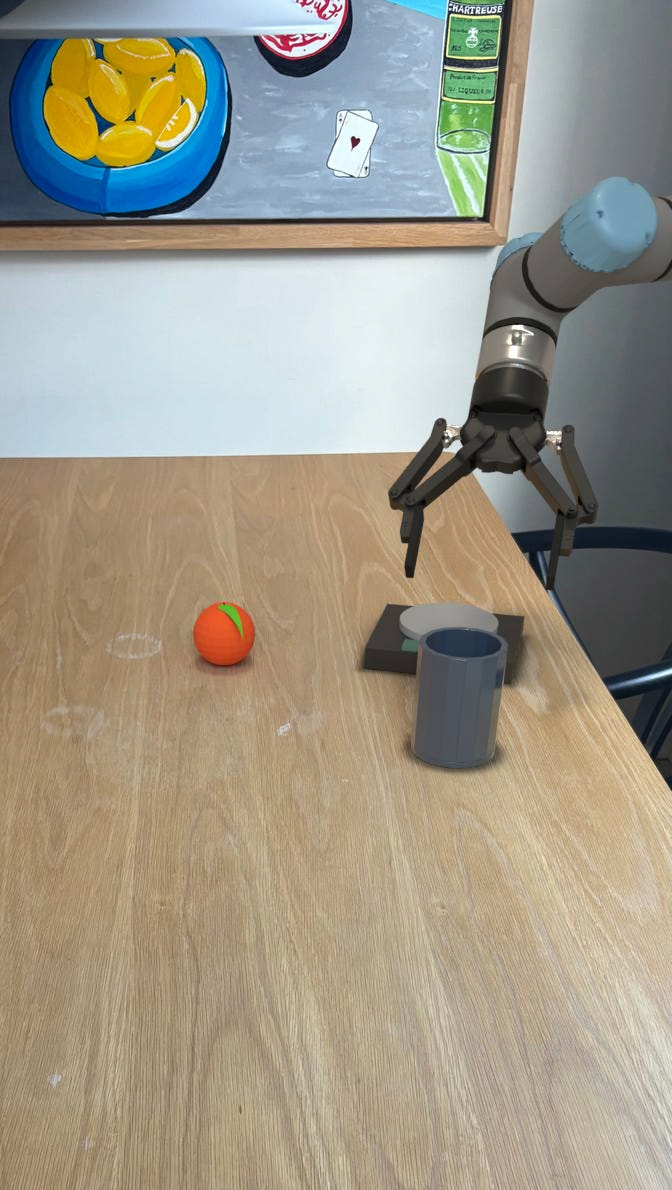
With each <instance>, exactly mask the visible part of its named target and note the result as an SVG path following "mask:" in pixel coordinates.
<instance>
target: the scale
mask: <svg viewBox="0 0 672 1190" xmlns="http://www.w3.org/2000/svg"><path fill="white" fill-rule="evenodd" d="M524 624H525V615H516V614H505V613H493V612H490V611H488V610H486V609H483V608H482V607H481V608H480V607H477V606H474V605H469V604H466V603H465V604H464V603H457V602H431V603H430V602H429V603H423V604H419V605H407V604H397V603H396V604H395V603H394V604H393V603H387V604H386V605H385V607H384V609H383V611H382V613H381V615H380V617H379V619H378V621H377V623H376V625H375V626H374V629H373V630H372V633H371V635H370V637H369V639H368V641H367V642H366V645H365V647H364V658H363V669H369V670H378V671H386V672H387V671H388V672H397V673H406V674H415V675H416V670H417V658H418V646H419V641H420V638H421V636H422V635H424V634H425V633H427V632H429V631H431V630H436V629H440V628H446V627H468V628H478V629H481V630H485V631H489V632H493V633H495V634H497V635H499V636H501V637H502V638H504V640H505V641H506V642H507V643H508V650H507V658H506V666H505V674H504V682H503V684H512V680H513V676H514V671H515V668H516V663H517V659H518V655H519V650H520V646H521V642H522V638H523V633H524V626H525V625H524Z"/></svg>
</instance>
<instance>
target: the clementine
mask: <svg viewBox="0 0 672 1190" xmlns="http://www.w3.org/2000/svg"><path fill="white" fill-rule="evenodd" d="M192 636H193V643H194V646H195V648H196V650H197V652H198V653H199V655H201V657H202V658H203V659H204V660H205V661H207V662H209V663H211V664H212V665H217V666H231V665H235V664H237V663H239V662H241V661H242V660H244V659H245V658H246V657H247V656H248V655H249V654H250V652H251V650H252V648H253V646H254V643H255V639H256V629H255V625H254V622H253V619H252V617H251V615H250V614H249V613H248V612H247V611H246V609H244V608H242V607H241V606H239V605H238V604H235V603H233V602H229V601H228V602H227V601H220V602H216V603H213V604H210V605H209V606H208V607H206V608H205V609H203V610H202V611H201V612H200V614H199V615H198V616H197V618H196V620H195V623H194V626H193V630H192Z"/></svg>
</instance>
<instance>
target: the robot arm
mask: <svg viewBox="0 0 672 1190" xmlns="http://www.w3.org/2000/svg"><path fill="white" fill-rule="evenodd" d="M665 281H666V282H668V281H672V195H665V196H652V197H651V195H650V194H649V193H648V191H647V190H646V189H645V188H644V187H643V186H642V185H640V184H639V183H637V182H634V183H632V182H631V181H630V180H629V179H628V178H627V177H624V176H611V177H608V178H605V179H603V180H601V181H599V182H598V183H597V184H595V185H594V186H593V187H592V188H591V189H589V190H588V191H587V192H585V193H583V194H582V195H581V196H580V197H579V198H577V199H576V200H574V202H573V203H572V204H571V205H569V207H568V208H567V209H566V211H565V212H564V213H563V214H562V215H561V216H559V218H558V219H557V220H556V221H554V223H553V224H552V225H551V226H549V227H548V229H547V230H545V232H537V231H534V232H527V233H524V234H523V236H519V237H513V238H512V239H510V240H509V241H508V242H507V243H505V244H504V245H503V247H502V248H501V250H500V251H499V253H498V256H497V259H496V264H495V267H494V270H493V272H492V275H491V280H490V283H489V294H488V301H487V307H486V312H485V320H484V326H483V332H482V338H481V344H480V349H479V353H478V359H477V364H476V369H475V375H474V383H473V386H472V391H471V397H470V403H469V408H468V414H467V418H466V420H465V422H464V423H463V425H462V426H461V425H454V424H448V422H447V420H446V419H445V418H444V417H438V418H436V420H435V421H434V423H433V426H432V429H431V432H430V435H429V437H428V439H427V440H426V441H425V443H424V444H422V446H421V448H420V449H419V450H418V452H417V453H416V454H415V456H414V457H413V458H412V459H411V460H410V462H409V464H408V465H407V466H406V467H405V469H404V470H403V471H402V472H401V474H400V475H399V476H398V477H397V479H396V481H394V483H393V484H392V485H391V487H390V488H389V490H388V492H387V495H388V502H389V508H390V509H391V510H393V511H401V512H402V518H401V523H400V528H399V537H400V541H401V544H407V547H406V548H407V549H406V552H405V559H404V566H403V567H404V574H405V578H406V579H414V577H415V572H416V567H417V561H418V555H419V552H420V551H419V550H420V545H421V539H422V534H423V529H424V523H425V514H424V510H425V509H426V508H427V507H429V505H431V504H432V503H433V502H435V500H437V499H438V498H439V497H441V496H442V495H443V494H444V493H446V492H447V491H448V490H449V489H450V488H451V487H453V486H454V485H455V484H456V483H458V482H459V481H460V480H461V479H462V478H466V477H468V476H469V475H471V473H473V472H474V471H475V470H477V469H478V470H479V471H481V473H485V474H492V473H497V472H498V473H501V474H504V475H514V473H515V472H519V471H520V472H521V474H522V475H523V476H524V477H525V479H526V480H527V481H528V482H531V484H532V485H533V487H534V488H535V489H536V491H537V492H538V494H539V495H540V496H541V497H542V499H543V500H544V501H545V503H546V504H547V505H548V507H549V508H550V509H551V511H552V512H553V513H554V515H555V516H556V517H555V523H554V530H553V536H552V541H551V548H550V552H549V553H550V554H549V558H548V559H549V560H548V566H547V573H546V579H545V591H554V589H555V584H556V576H557V570H558V565H559V564H558V563H559V558H560V557H568V558H569V557H570V555H572V552H573V547H574V540H575V534H576V530H577V528H578V526H580V525H584V524H586V525H593V524H594V523H595V522H596V521H597V516H598V511H599V503H598V500H597V498H596V496H595V492H594V490H593V489H592V486H591V484H590V480H589V478H588V475H587V473H586V471H585V468H584V466H583V464H582V461H581V458H580V456H579V454H578V451H577V449H576V446H575V427H574V426H573V425H572V424H566V425H563V427H562V428H561V430H546V428H545V420H546V419H545V418H546V413H547V408H548V407H547V406H548V400H549V394H550V389H549V388H550V387H551V383H552V377H553V371H554V365H555V359H556V353H557V344H558V341H559V334H560V330H561V329H560V328H561V324H562V322H563V320H564V319H565V318H566V317H567V316H568V315H569V314H570V313H572V312H573V311H575V309H577V308H578V307H580V306H581V305H582V304H583V303H584V302H586V301H587V300H588V299H589V298H591V297H592V296H593V295H595V293H597V292H598V291H599V290H602V289H604V288H610V287H621V286H629V285H639V284H649V283H655V282H665ZM456 441H459V442H460V445H461V446H462V447H460V448H459V449H458V450H457V451H456V452H455V455H454V456H452V458H451V459H449V460H448V461H447V462H446V463H445V464H444V465H442V466H441V467H440V468H438V469H437V470H436V471H435V472H434V473H433V474H431V475H430V476H429V477H427V479H426V480H424V481H423V479H424V478H425V476H427V474H428V473H429V472H430V470H431V469H432V468H433V466H434V465H435V463H436V462H437V461H438V460H439V458H440V457H441V455H442V454H443V451H444V450H445V449H446V450H447V449H449V448H450V447H451V446H452V444H453V443H454V442H456ZM545 446H549V448H551V451H552V453H554V454H555V456H559V460H560V464H561V466H562V470H563V472H564V475H565V477H566V480H567V482H568V485H569V487H570V490H571V493H572V495H573V497H574V500H575V503H576V504H575V503H574V501H572V499H571V498H570V496H569V495H568V494H567V492H566V491H565V490H564V489H563V487H562V486H561V485H560V483H559V482H558V481H557V480H556V478H555V477H554V475H553V474H552V473H551V472H550V470H549V469H548V467H547V466H546V465H545V464H544V462H543V461H542V458H541V456H540V452H541V451H542V450H543V449H544V448H545ZM422 481H423V482H422ZM421 482H422V483H421ZM419 484H420V485H419Z"/></svg>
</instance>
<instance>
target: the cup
mask: <svg viewBox="0 0 672 1190" xmlns="http://www.w3.org/2000/svg"><path fill="white" fill-rule="evenodd" d="M507 650H508V643H507V642H506V641H505V640H504V638H502V637H501V636H499V635H497V634H495V633H493V632H489V631H485V630H481V629H478V628H468V627H446V628H440V629H436V630H431V631H429V632H427V633H425V634H424V635H422V636H421V638H420V641H419V646H418V658H417V670H416V674H415V682H414V683H415V684H414V692H413V693H414V694H413V704H412V705H413V706H412V720H411V729H410V750H411V752H412V753H413V755H414V756H415V757H417V758H418V759H420V760H421V761H423V762H425V763H427V764H430V765H434V766H437V767H441V768H449V769H469V768H474V767H479V766H482V765H485V764H487V763H488V762H489V761H490V760H491V759H492V758H493V757H494V755H495V752H496V751H495V749H496V745H497V737H498V729H499V722H500V714H501V706H502V705H501V704H502V698H503V697H502V696H503V691H504V689H503V688H504V683H503V682H504V674H505V666H506V658H507Z"/></svg>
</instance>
